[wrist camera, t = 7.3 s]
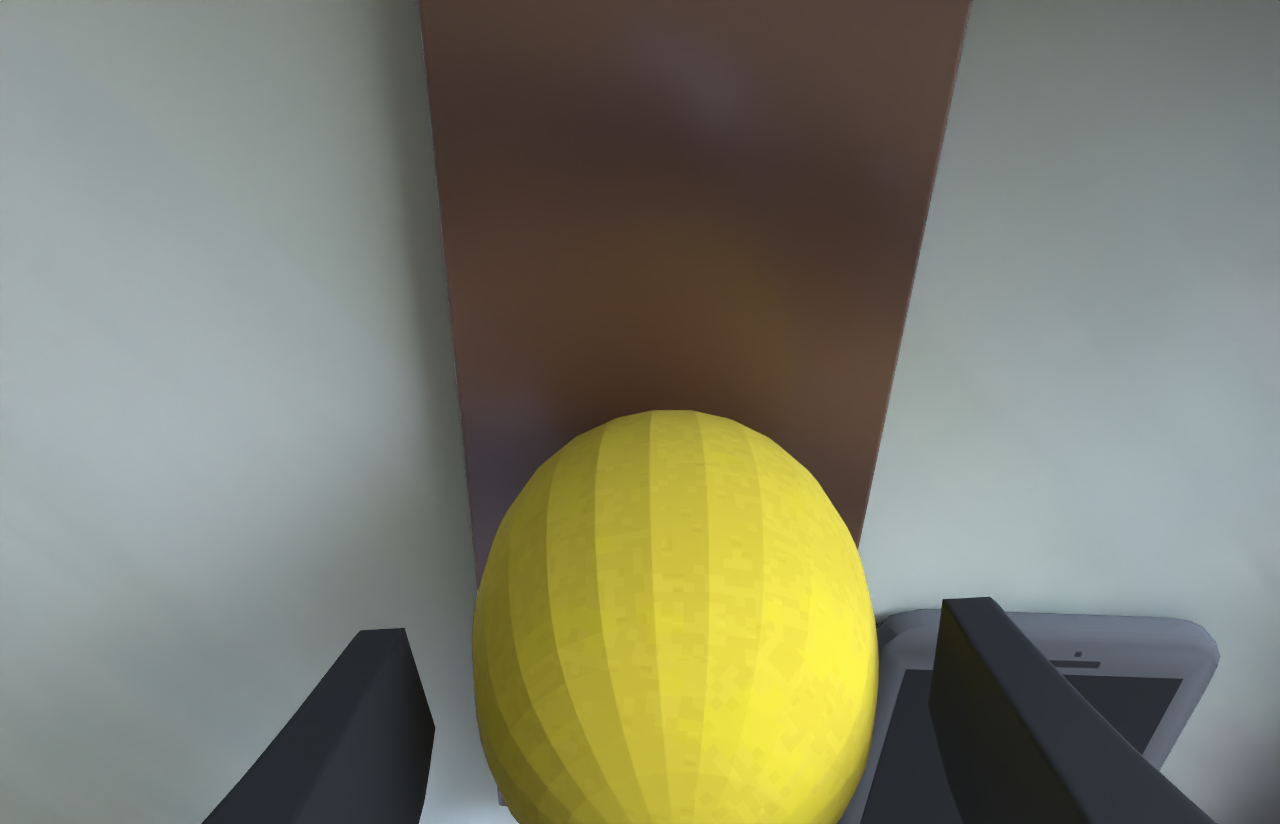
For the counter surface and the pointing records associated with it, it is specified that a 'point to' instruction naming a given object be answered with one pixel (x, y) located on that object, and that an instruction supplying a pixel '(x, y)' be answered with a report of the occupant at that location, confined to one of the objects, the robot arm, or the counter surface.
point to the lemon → (674, 634)
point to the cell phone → (1078, 648)
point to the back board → (682, 219)
